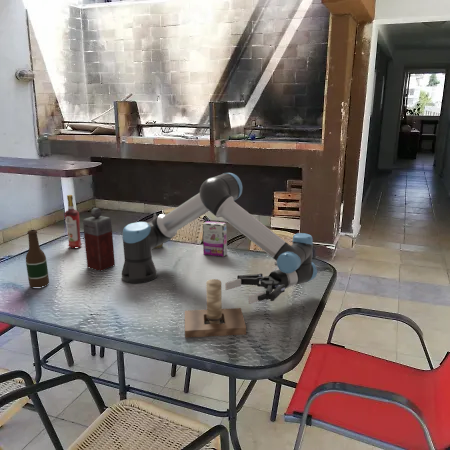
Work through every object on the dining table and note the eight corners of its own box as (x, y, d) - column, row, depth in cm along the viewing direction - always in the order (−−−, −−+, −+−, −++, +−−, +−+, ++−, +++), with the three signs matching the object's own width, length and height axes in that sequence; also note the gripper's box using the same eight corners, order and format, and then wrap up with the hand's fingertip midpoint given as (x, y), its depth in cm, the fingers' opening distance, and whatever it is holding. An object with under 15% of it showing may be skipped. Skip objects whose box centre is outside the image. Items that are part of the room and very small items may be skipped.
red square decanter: (98, 260, 209) (93, 204, 201) (115, 265, 203) (110, 207, 195) (83, 266, 201) (77, 208, 194) (100, 271, 196) (95, 211, 188)
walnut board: (185, 337, 140) (184, 330, 140) (185, 316, 154) (184, 310, 153) (246, 334, 142) (246, 327, 141) (240, 314, 155) (240, 308, 155)
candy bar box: (227, 254, 217) (227, 222, 212) (223, 257, 212) (223, 225, 208) (206, 251, 221) (206, 220, 216) (203, 254, 216) (202, 223, 211)
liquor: (65, 249, 226) (59, 196, 218) (72, 244, 233) (66, 193, 225) (78, 249, 224) (72, 197, 217) (85, 245, 231) (79, 194, 224)
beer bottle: (53, 283, 183) (46, 229, 177) (38, 290, 176) (31, 234, 170) (40, 280, 186) (32, 227, 180) (25, 287, 180) (17, 232, 173)
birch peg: (207, 329, 145) (206, 285, 141) (206, 322, 150) (205, 279, 146) (222, 328, 146) (222, 285, 141) (221, 321, 151) (221, 278, 146)
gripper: (305, 300, 154) (259, 316, 142) (261, 277, 173) (217, 290, 162) (306, 280, 152) (260, 295, 140) (261, 260, 171) (217, 271, 160)
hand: (237, 293), depth 151 cm, fingers open, 13 cm apart
